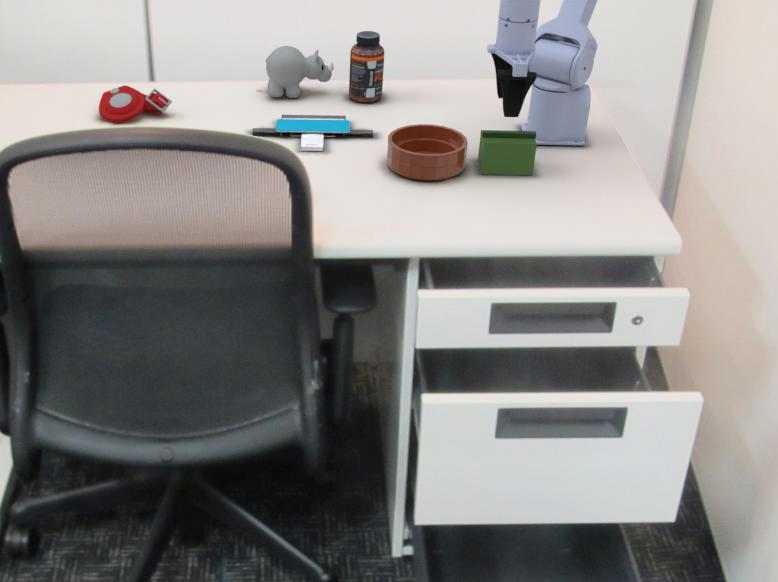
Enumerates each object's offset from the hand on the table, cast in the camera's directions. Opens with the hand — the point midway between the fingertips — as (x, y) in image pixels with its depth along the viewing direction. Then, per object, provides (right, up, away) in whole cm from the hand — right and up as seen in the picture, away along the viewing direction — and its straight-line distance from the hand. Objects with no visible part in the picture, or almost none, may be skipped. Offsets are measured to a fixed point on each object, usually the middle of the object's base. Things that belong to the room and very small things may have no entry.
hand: (507, 106), depth 171 cm
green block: (0, -9, +4) cm, 9 cm away
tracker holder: (-60, +4, +21) cm, 64 cm away
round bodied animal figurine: (-32, +10, +29) cm, 44 cm away
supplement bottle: (-20, +9, +28) cm, 36 cm away
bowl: (-12, -8, +4) cm, 15 cm away
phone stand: (-30, -2, +14) cm, 33 cm away
